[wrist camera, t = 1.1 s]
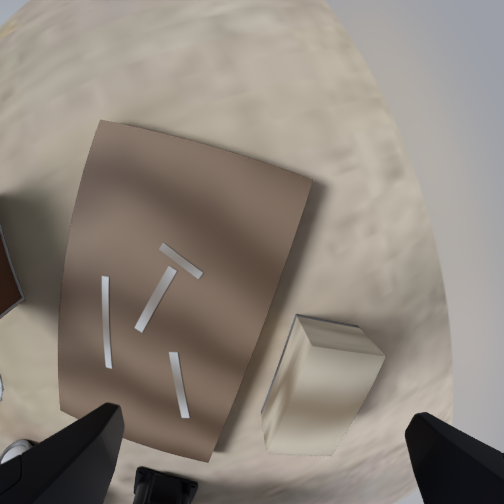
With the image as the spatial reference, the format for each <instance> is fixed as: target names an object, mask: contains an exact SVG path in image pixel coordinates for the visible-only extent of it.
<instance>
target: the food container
mask: <svg viewBox="0 0 504 504" xmlns="http://www.w3.org/2000/svg"><path fill="white" fill-rule="evenodd" d="M23 300H25V297H24V294H23V292H22V289H21V287H20V284H19V281H18V279H17V276H16V273H15V270H14V267H13V264H12V261H11V258H10V255H9V252H8V249H7V245H6V242H5V238H4V235H3V231H2V227H1V223H0V319H1V318H2V317H3V316H5V315H6V314H7V313H8V312H10V311H11V310H12V309H13V308H15V307H16V306H17V305H18V304H20V303H21V302H22V301H23Z"/></svg>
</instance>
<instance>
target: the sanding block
mask: <svg viewBox="0 0 504 504" xmlns="http://www.w3.org/2000/svg"><path fill="white" fill-rule="evenodd" d="M385 357H386V356H385V355H384V354H383V352H382V351H381V350H380V349H379V348H378V347H377V346H376V345H375V344H374V343H373V342H372V341H371V339H370V338H369V337H368V336H367V335H366V334H365V333H364V332H363V331H362V330H361V329H360V328H359V327H358V326H355V325H350V324H344V323H339V322H333V321H328V320H323V319H318V318H313V317H308V316H303V315H298V314H296V315H295V318H294V321H293V324H292V327H291V330H290V333H289V336H288V339H287V342H286V344H285V347H284V350H283V353H282V356H281V359H280V362H279V365H278V367H277V370H276V373H275V376H274V378H273V381H272V384H271V387H270V389H269V392H268V395H267V397H266V400H265V403H264V405H263V408H262V410H261V415H262V423H263V431H264V439H265V447H266V453H269V454H281V455H298V456H332V455H333V453H334V452H335V450H336V449H337V447H338V445H339V444H340V442H341V441H342V439H343V437H344V436H345V434H346V432H347V431H348V429H349V427H350V426H351V424H352V422H353V420H354V419H355V417H356V415H357V413H358V411H359V410H360V408H361V406H362V404H363V402H364V400H365V398H366V397H367V395H368V393H369V391H370V389H371V387H372V385H373V383H374V381H375V379H376V377H377V375H378V372H379V370H380V368H381V366H382V364H383V362H384V360H385Z"/></svg>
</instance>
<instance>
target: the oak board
mask: <svg viewBox="0 0 504 504" xmlns="http://www.w3.org/2000/svg"><path fill="white" fill-rule="evenodd" d="M312 182H313V180H312V179H309V178H307V177H304V176H301V175H298V174H296V173H293V172H290V171H287V170H284V169H282V168H279V167H276V166H273V165H270V164H267V163H264V162H261V161H258V160H255V159H252V158H249V157H245V156H242V155H239V154H236V153H233V152H229V151H226V150H223V149H219V148H216V147H212V146H209V145H205V144H202V143H198V142H194V141H191V140H187V139H183V138H179V137H176V136H172V135H168V134H164V133H159V132H155V131H151V130H147V129H142V128H138V127H133V126H129V125H124V124H119V123H114V122H109V121H104V120H100V122H99V125H98V127H97V130H96V133H95V136H94V139H93V142H92V145H91V148H90V151H89V154H88V158H87V161H86V164H85V168H84V171H83V175H82V179H81V182H80V186H79V190H78V194H77V198H76V203H75V207H74V211H73V216H72V221H71V226H70V231H69V237H68V242H67V248H66V255H65V262H64V269H63V277H62V286H61V297H60V309H59V328H58V380H59V398H60V410H61V411H63V412H65V413H67V414H69V415H71V416H73V417H75V418H77V419H80V418H82V417H83V416H85V415H87V414H88V413H90V412H91V411H93V410H95V409H96V408H98V407H99V406H101V405H102V404H104V403H106V402H110V403H114V404H118V405H120V407H121V409H122V414H123V419H124V424H125V429H124V433H123V437H122V438H125V439H127V440H130V441H133V442H136V443H139V444H142V445H145V446H148V447H151V448H154V449H157V450H160V451H164V452H167V453H171V454H174V455H178V456H182V457H186V458H190V459H194V460H198V461H203V462H207V463H208V462H209V460H210V457H211V455H212V453H213V450H214V448H215V446H216V443H217V441H218V439H219V436H220V434H221V431H222V429H223V427H224V424H225V422H226V419H227V417H228V414H229V412H230V409H231V407H232V404H233V402H234V399H235V397H236V394H237V392H238V389H239V387H240V384H241V382H242V379H243V377H244V374H245V372H246V369H247V366H248V364H249V361H250V359H251V356H252V353H253V351H254V348H255V346H256V343H257V340H258V338H259V335H260V332H261V330H262V327H263V324H264V322H265V319H266V316H267V313H268V311H269V308H270V305H271V302H272V300H273V297H274V294H275V291H276V289H277V286H278V283H279V280H280V277H281V274H282V272H283V269H284V266H285V263H286V260H287V257H288V254H289V252H290V249H291V246H292V243H293V240H294V237H295V234H296V231H297V228H298V225H299V222H300V219H301V216H302V213H303V210H304V207H305V204H306V201H307V198H308V195H309V192H310V189H311V185H312Z"/></svg>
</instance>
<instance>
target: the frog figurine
mask: <svg viewBox="0 0 504 504" xmlns="http://www.w3.org/2000/svg"><path fill="white" fill-rule="evenodd" d="M0 387H1V388H2V389H1V390H0V401H1V400H2V393H3V390H4V389H3V384H2V381H1V376H0Z"/></svg>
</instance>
